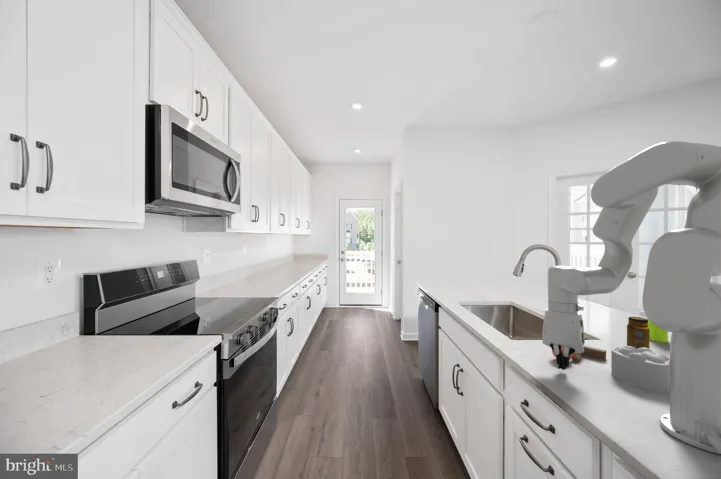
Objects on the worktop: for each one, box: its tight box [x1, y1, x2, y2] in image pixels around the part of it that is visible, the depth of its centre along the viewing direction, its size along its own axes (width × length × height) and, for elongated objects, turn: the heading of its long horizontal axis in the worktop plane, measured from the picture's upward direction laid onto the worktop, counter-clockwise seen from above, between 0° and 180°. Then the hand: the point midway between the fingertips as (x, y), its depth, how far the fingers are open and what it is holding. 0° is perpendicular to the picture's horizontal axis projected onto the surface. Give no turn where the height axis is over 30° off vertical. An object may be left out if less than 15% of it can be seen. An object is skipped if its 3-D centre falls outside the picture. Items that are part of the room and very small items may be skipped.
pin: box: [571, 344, 585, 362], centre depth 105 cm, size 2×2×8 cm
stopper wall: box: [581, 345, 607, 361], centre depth 108 cm, size 2×12×3 cm, turn 41°
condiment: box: [626, 316, 651, 349], centre depth 110 cm, size 7×8×12 cm
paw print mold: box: [610, 345, 670, 393], centre depth 89 cm, size 10×13×9 cm
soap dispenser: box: [646, 316, 669, 343], centre depth 123 cm, size 6×7×20 cm
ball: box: [551, 346, 573, 361], centre depth 103 cm, size 6×6×6 cm
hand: (562, 367), depth 94 cm, fingers closed
